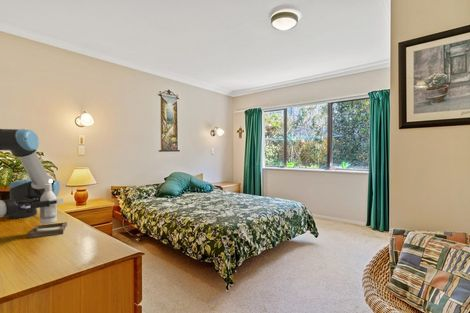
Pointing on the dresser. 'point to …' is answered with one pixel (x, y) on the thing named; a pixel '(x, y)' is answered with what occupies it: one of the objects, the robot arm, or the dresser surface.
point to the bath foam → (49, 212)
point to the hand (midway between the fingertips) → (59, 199)
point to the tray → (48, 230)
